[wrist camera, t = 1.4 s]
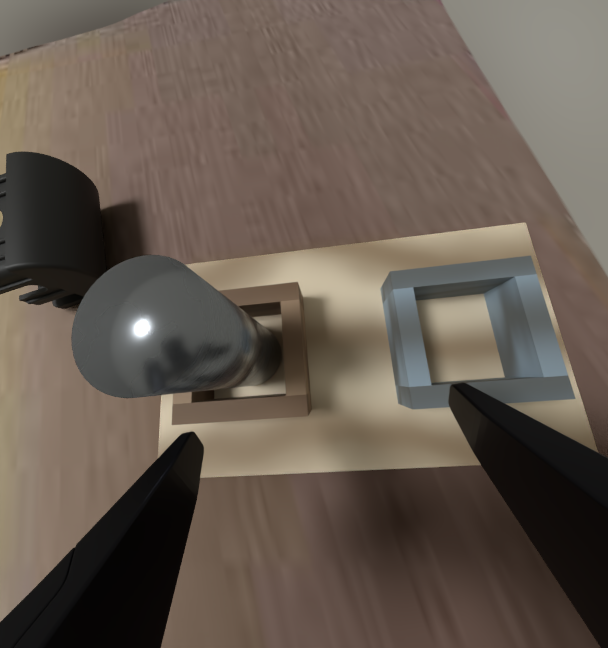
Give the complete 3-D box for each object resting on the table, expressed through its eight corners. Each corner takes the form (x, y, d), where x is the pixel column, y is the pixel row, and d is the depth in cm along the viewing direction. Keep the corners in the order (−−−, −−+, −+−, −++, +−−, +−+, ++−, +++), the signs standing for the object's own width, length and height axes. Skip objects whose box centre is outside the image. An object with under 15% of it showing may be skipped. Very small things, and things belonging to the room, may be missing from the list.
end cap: (132, 292, 22) (48, 255, 16) (60, 315, 22) (-52, 289, 16) (121, 202, 24) (44, 138, 18) (56, 224, 25) (-43, 169, 18)
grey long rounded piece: (283, 383, 17) (208, 392, 7) (223, 388, 18) (62, 403, 7) (279, 323, 18) (209, 246, 8) (223, 328, 19) (81, 263, 8)
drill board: (575, 452, 16) (669, 480, 12) (170, 471, 18) (120, 500, 14) (510, 234, 19) (563, 192, 15) (179, 274, 22) (141, 248, 17)
